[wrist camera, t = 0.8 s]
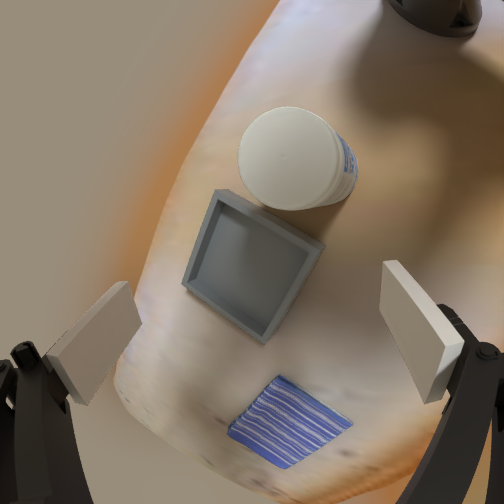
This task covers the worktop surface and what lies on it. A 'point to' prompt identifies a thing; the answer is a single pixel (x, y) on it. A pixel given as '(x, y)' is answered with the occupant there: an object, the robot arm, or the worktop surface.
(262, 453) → the dish towel
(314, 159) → the supplement tub
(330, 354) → the worktop surface
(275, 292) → the tray
